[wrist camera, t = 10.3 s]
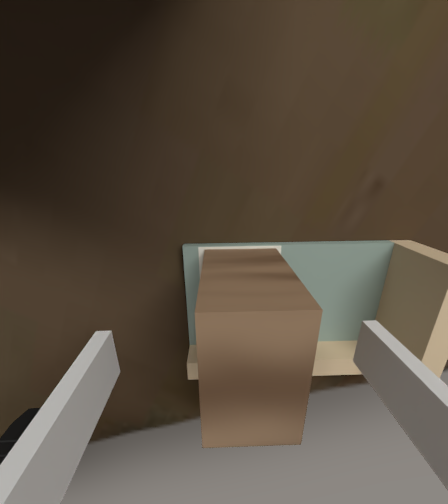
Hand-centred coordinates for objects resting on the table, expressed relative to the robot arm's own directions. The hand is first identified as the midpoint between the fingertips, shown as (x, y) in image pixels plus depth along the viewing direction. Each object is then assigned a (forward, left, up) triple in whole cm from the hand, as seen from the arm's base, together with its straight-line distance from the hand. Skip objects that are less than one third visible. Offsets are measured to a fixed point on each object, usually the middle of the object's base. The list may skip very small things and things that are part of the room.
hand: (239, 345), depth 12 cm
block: (0, 0, -5) cm, 5 cm away
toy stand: (+5, -1, -6) cm, 8 cm away
